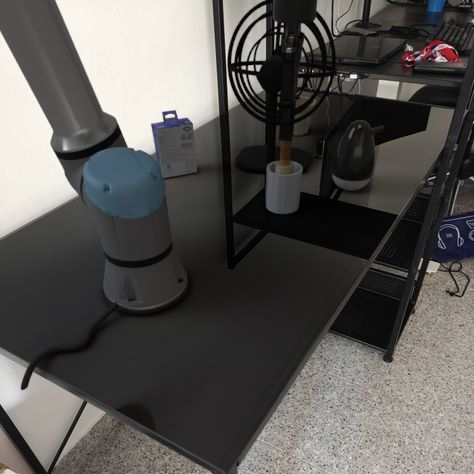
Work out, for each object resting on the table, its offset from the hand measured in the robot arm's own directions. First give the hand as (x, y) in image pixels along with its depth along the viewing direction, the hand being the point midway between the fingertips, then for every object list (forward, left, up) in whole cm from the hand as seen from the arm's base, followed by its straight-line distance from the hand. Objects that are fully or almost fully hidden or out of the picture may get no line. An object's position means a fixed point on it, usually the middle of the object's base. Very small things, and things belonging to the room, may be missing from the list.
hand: (286, 137), depth 90 cm
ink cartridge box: (-11, +31, -16) cm, 36 cm away
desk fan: (+14, +21, -16) cm, 30 cm away
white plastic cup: (0, 0, -15) cm, 15 cm away
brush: (0, 0, -10) cm, 10 cm away
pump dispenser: (+20, -2, -16) cm, 26 cm away
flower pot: (+33, +34, -16) cm, 50 cm away
